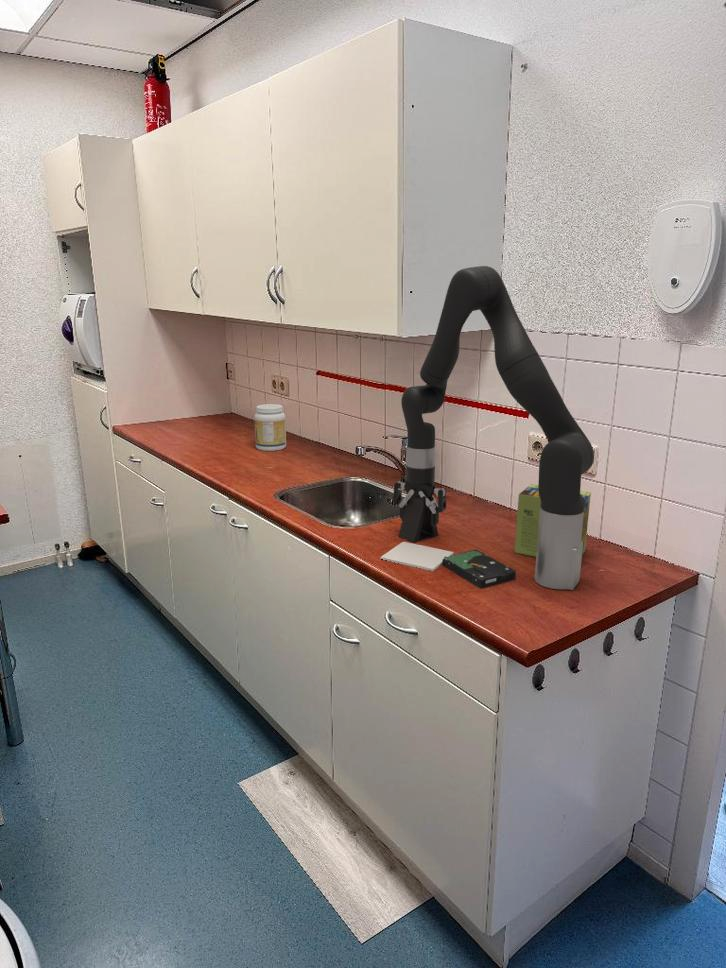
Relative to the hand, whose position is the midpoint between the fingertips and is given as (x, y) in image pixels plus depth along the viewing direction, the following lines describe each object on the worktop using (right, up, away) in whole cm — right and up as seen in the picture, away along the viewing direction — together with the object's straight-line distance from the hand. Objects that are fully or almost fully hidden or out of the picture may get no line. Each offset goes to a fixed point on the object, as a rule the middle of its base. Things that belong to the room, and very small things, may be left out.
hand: (418, 523), depth 181 cm
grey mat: (-1, -8, -13) cm, 15 cm away
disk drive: (+12, -11, -21) cm, 27 cm away
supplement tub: (-51, +25, +95) cm, 111 cm away
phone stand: (0, -4, +1) cm, 4 cm away
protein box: (+32, -7, -9) cm, 34 cm away
